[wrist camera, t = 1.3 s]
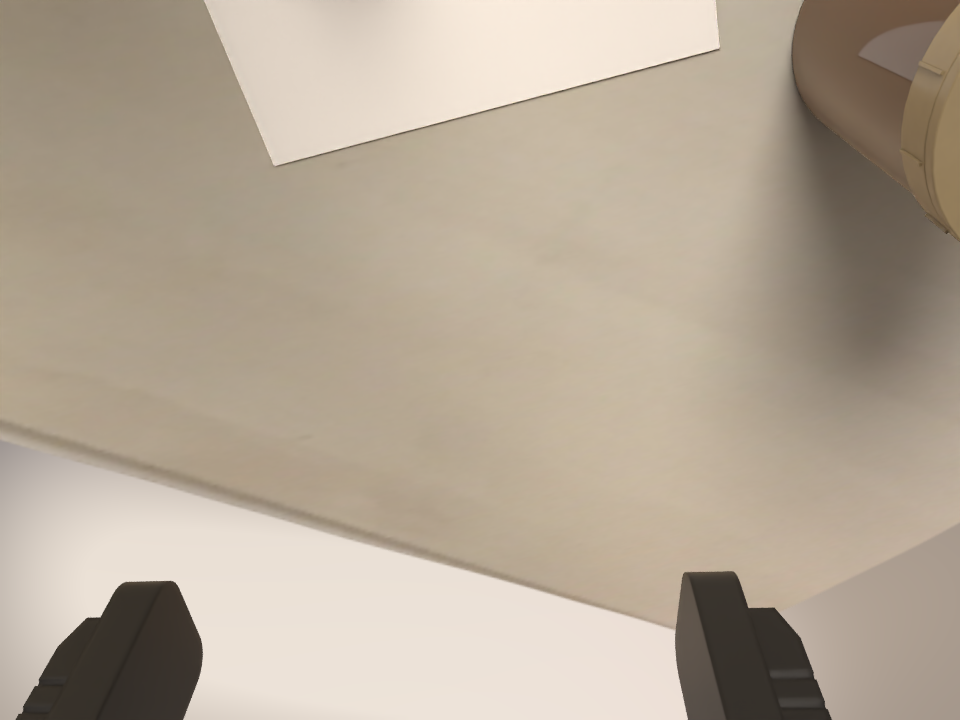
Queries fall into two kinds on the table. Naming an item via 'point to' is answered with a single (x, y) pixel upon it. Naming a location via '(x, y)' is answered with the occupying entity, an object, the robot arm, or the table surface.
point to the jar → (864, 68)
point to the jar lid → (936, 129)
